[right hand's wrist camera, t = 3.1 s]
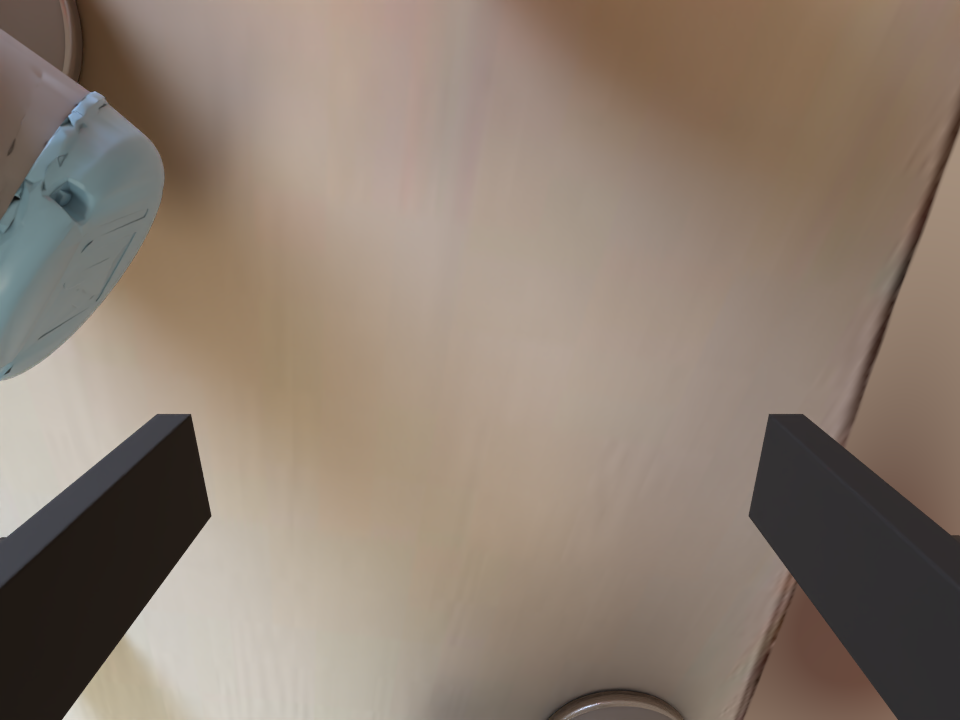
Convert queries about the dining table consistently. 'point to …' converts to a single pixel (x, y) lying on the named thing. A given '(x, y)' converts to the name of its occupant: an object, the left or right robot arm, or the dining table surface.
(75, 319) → the left robot arm
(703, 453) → the dining table surface
